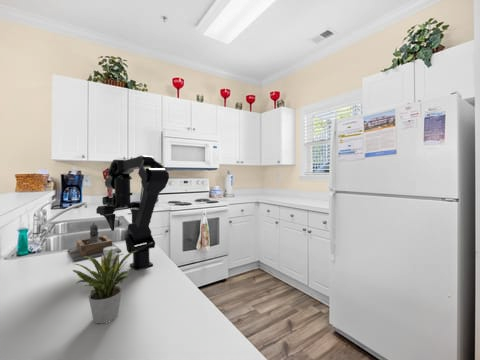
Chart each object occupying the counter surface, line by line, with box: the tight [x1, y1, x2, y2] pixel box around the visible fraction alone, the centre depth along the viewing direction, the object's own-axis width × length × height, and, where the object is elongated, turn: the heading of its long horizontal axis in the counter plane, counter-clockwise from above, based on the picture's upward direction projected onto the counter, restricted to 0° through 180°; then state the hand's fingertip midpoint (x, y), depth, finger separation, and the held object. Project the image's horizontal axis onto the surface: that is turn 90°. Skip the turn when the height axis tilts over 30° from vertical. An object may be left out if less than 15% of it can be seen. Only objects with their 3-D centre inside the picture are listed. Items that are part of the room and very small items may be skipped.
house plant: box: [72, 249, 138, 324], centre depth 60 cm, size 14×14×16 cm
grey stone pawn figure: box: [87, 222, 102, 244], centre depth 107 cm, size 6×6×12 cm
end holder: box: [67, 235, 122, 263], centre depth 107 cm, size 18×17×5 cm
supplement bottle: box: [100, 245, 120, 278], centre depth 82 cm, size 5×5×10 cm
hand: (123, 228), depth 100 cm, fingers open, 9 cm apart
